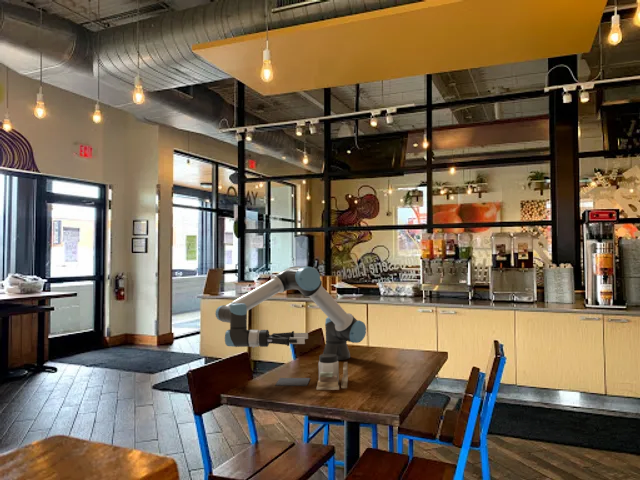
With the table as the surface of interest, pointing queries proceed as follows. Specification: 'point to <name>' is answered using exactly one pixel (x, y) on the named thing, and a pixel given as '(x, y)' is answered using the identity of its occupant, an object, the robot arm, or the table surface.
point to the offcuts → (327, 380)
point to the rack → (344, 380)
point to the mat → (293, 382)
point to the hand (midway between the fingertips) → (306, 338)
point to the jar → (329, 364)
